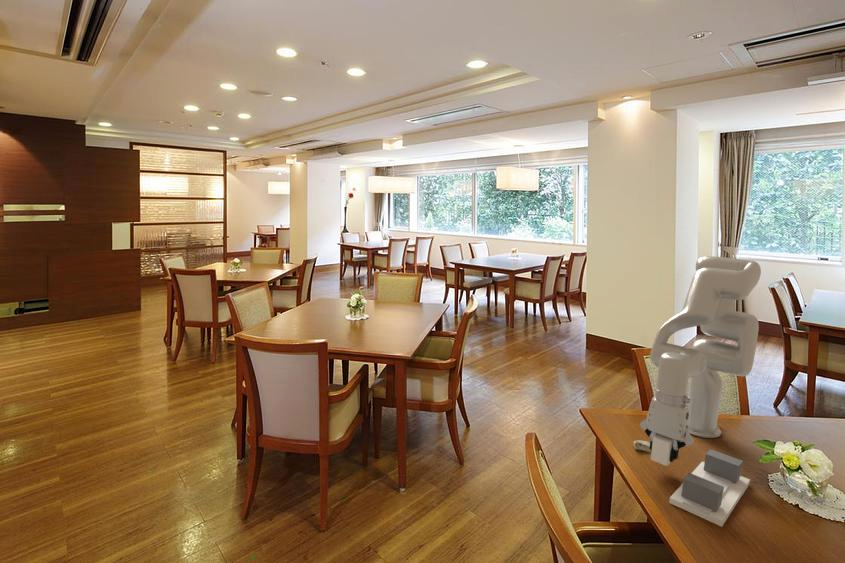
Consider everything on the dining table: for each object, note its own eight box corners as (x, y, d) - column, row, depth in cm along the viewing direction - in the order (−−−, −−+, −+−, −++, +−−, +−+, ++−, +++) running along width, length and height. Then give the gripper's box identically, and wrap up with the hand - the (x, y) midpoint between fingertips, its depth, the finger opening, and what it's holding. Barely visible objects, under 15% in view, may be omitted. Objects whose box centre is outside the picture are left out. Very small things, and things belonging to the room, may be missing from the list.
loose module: (658, 451, 140) (661, 429, 139) (674, 457, 137) (677, 435, 136) (650, 459, 136) (653, 437, 135) (667, 466, 133) (669, 443, 132)
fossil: (671, 461, 144) (672, 450, 143) (632, 451, 149) (633, 440, 148) (671, 450, 150) (672, 440, 149) (633, 441, 155) (635, 431, 154)
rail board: (701, 466, 141) (704, 444, 140) (749, 484, 132) (753, 461, 131) (669, 502, 123) (672, 478, 122) (721, 526, 115) (726, 500, 113)
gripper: (708, 402, 130) (699, 463, 133) (644, 383, 141) (638, 440, 145) (699, 411, 124) (690, 474, 128) (634, 391, 136) (627, 449, 140)
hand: (663, 455), depth 137 cm, fingers closed on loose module, 4 cm apart
